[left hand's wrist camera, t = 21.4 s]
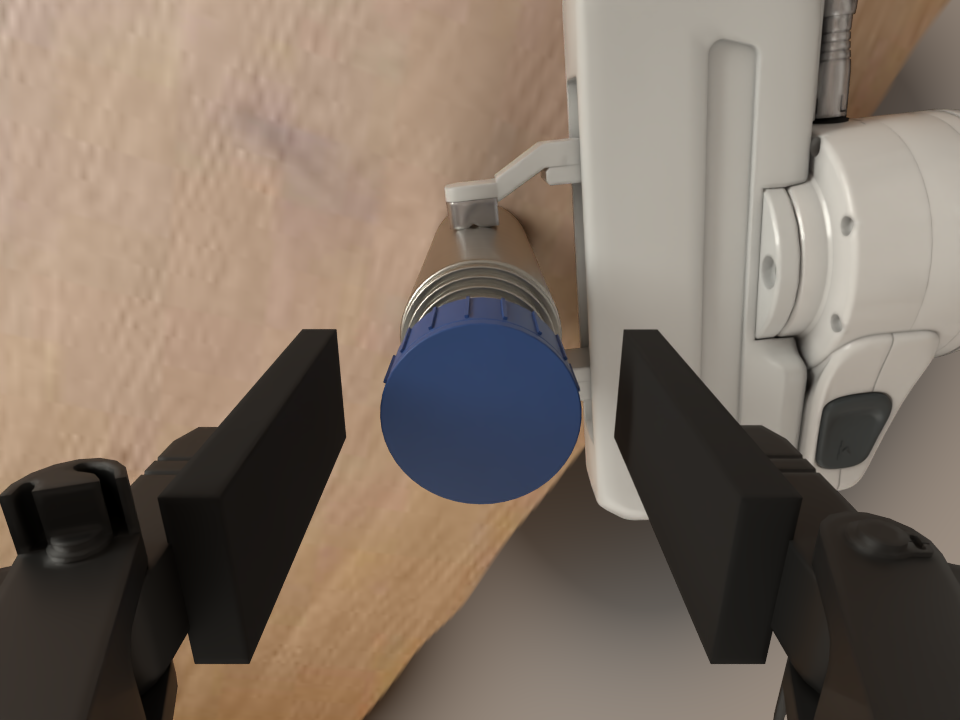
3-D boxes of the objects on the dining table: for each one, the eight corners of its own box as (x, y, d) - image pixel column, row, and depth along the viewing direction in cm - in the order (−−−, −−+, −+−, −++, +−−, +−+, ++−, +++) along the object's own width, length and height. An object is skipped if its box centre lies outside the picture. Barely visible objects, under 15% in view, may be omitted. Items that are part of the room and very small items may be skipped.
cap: (588, 307, 14) (604, 336, 12) (553, 470, 15) (563, 517, 13) (400, 281, 13) (387, 307, 11) (384, 448, 15) (370, 494, 13)
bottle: (413, 240, 28) (330, 383, 13) (492, 182, 27) (507, 258, 12) (470, 315, 30) (458, 528, 14) (547, 262, 29) (626, 426, 13)
